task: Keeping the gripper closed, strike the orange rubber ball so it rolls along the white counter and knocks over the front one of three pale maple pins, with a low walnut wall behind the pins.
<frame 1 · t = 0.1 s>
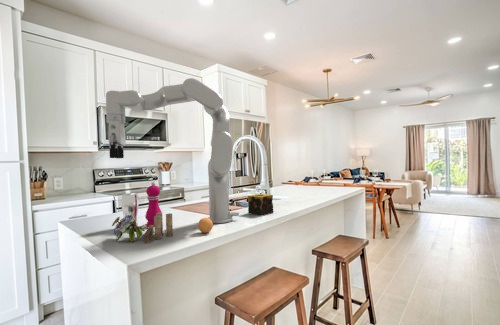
hand: (117, 158, 116), 31 cm above the countertop, tool pointing down, fingers open, 9 cm apart
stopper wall: (149, 237, 101), on the countertop
back pin right: (159, 234, 105), on the countertop
back pin left: (158, 238, 99), on the countertop
passion flower: (129, 239, 100), on the countertop
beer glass: (130, 227, 118), on the countertop
dark textured cube: (260, 213, 143), on the countertop
pepper mill: (154, 226, 120), on the countertop
front pin: (169, 235, 103), on the countertop
ball: (205, 225, 106), on the countertop
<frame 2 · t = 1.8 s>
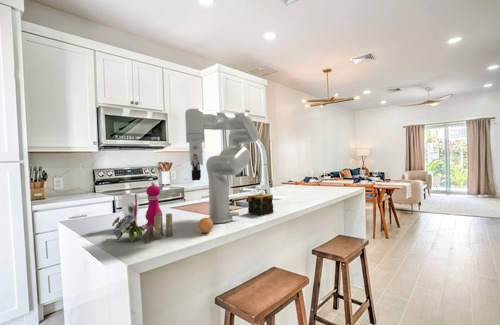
hand: (196, 179, 110), 21 cm above the countertop, tool pointing down, fingers open, 9 cm apart
nothing on the countertop moved.
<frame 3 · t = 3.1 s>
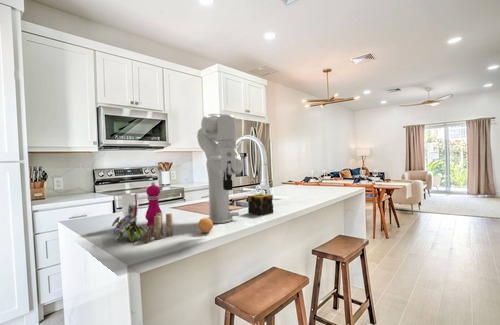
hand: (227, 189, 108), 17 cm above the countertop, tool pointing down, fingers open, 3 cm apart
nothing on the countertop moved.
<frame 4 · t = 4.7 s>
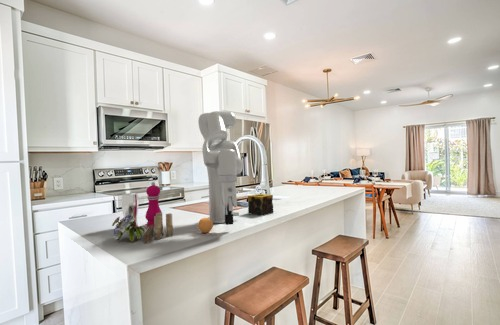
hand: (229, 224, 107), 3 cm above the countertop, tool pointing down, fingers closed
nothing on the countertop moved.
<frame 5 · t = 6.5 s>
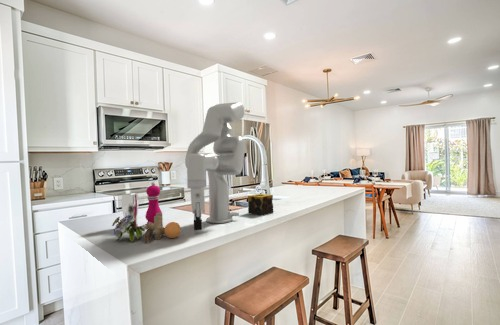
hand: (197, 229, 105), 2 cm above the countertop, tool pointing down, fingers closed
front pin: (168, 232, 103), point 1 cm above the countertop, tilted 63°, touching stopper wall
ball: (172, 230, 99), on the countertop
everything else where it was.
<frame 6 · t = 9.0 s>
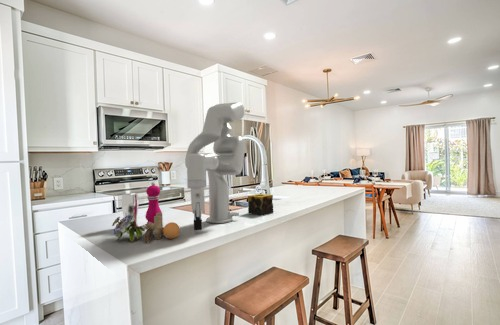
hand: (197, 229, 105), 2 cm above the countertop, tool pointing down, fingers closed
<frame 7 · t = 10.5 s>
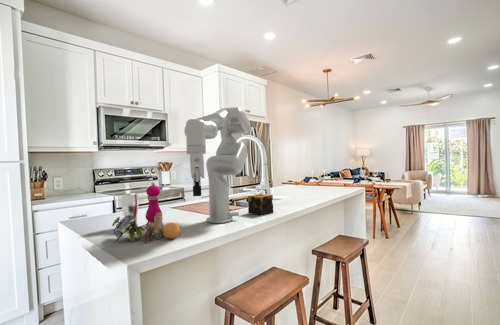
hand: (197, 195, 105), 15 cm above the countertop, tool pointing down, fingers closed
front pin: (168, 232, 103), point 1 cm above the countertop, tilted 63°
everything else where it was.
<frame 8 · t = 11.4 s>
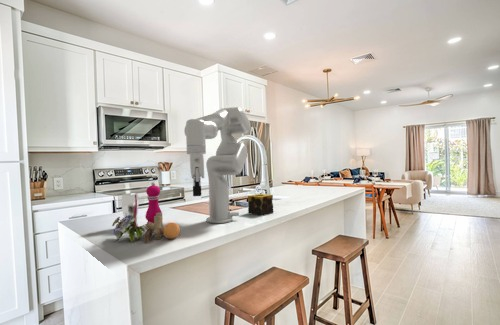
hand: (197, 195, 105), 15 cm above the countertop, tool pointing down, fingers closed
front pin: (168, 232, 103), point 1 cm above the countertop, tilted 63°, touching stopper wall
everything else where it was.
at the end: front pin tilted 63°; front pin never touched the robot; ball moved 13.6 cm from its start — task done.
